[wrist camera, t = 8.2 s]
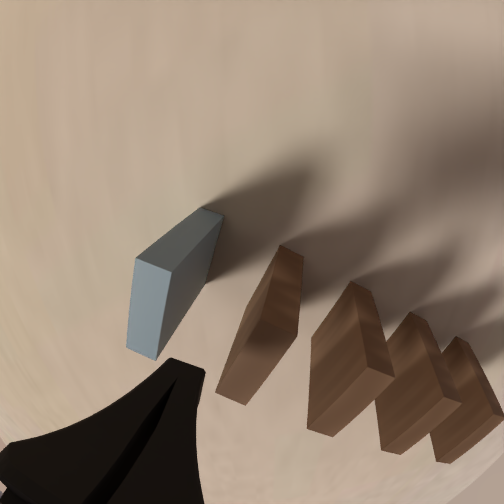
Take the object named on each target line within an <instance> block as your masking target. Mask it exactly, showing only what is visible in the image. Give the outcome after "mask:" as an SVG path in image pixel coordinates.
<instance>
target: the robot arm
mask: <svg viewBox="0 0 504 504" xmlns="http://www.w3.org/2000/svg"><path fill="white" fill-rule="evenodd" d="M205 373H206V372H205V370H204V369H202V368H199V367H196V366H194V365H191V364H188V363H185V362H182V361H179V360H177V359H174V358H169V359H167V360H166V361H165V362H164V363H163V364H162V365H161V366H160V367H159V368H158V369H157V370H156V371H155V372H154V373H152V374H151V375H150V376H149V377H148V378H146V379H145V380H144V381H143V382H142V383H140V384H139V385H138V386H136V387H135V388H134V389H133V390H131V391H130V392H129V393H127V394H126V395H124V396H123V397H121V398H120V399H118V400H117V401H115V402H114V403H112V404H111V405H109V406H108V407H106V408H104V409H102V410H101V411H99V412H97V413H95V414H93V415H92V416H90V417H88V418H86V419H83V420H81V421H79V422H77V423H75V424H73V425H70V426H68V427H65V428H63V429H60V430H57V431H54V432H51V433H48V434H45V435H42V436H38V437H34V438H30V439H25V440H21V441H16V442H11V443H9V444H8V445H7V446H6V447H5V448H4V449H3V450H2V451H1V452H0V481H1V482H2V483H3V484H4V485H5V486H6V487H7V489H6V490H5V492H4V493H2V492H1V491H0V504H204V500H203V494H202V489H201V484H200V478H199V470H198V461H197V448H196V417H197V407H198V404H199V401H200V396H201V392H202V387H203V382H204V378H205Z"/></svg>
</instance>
